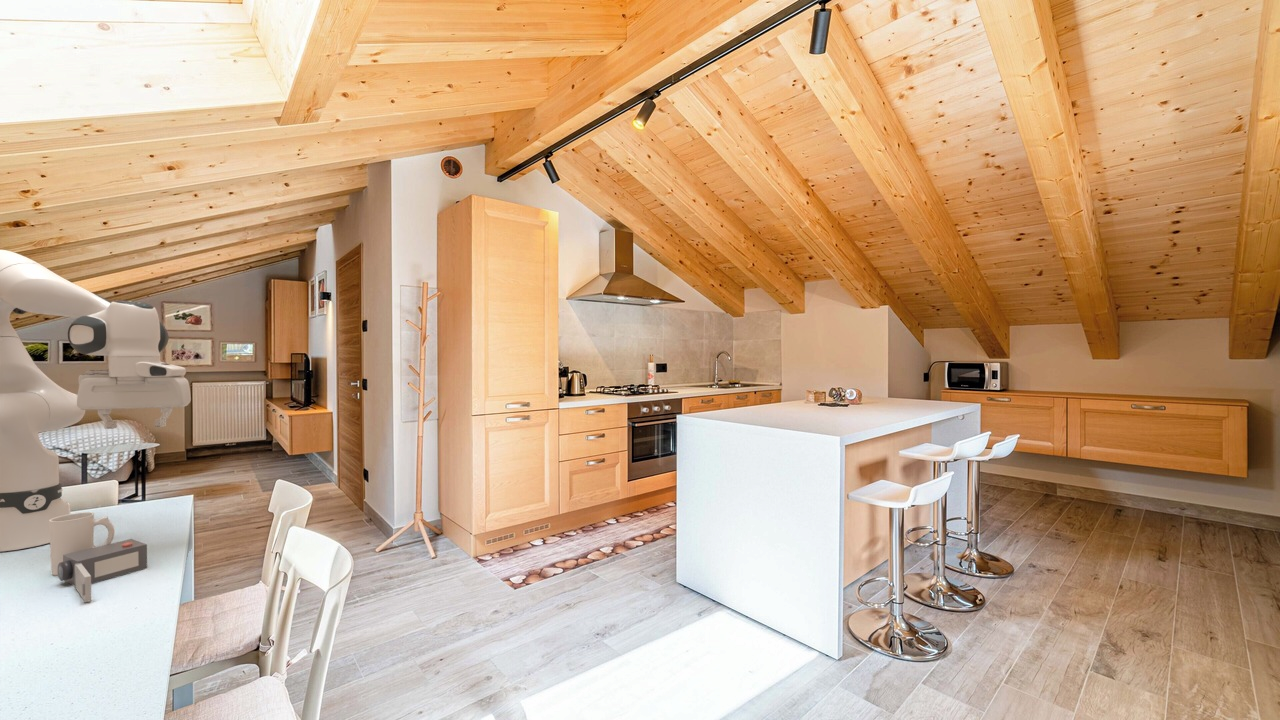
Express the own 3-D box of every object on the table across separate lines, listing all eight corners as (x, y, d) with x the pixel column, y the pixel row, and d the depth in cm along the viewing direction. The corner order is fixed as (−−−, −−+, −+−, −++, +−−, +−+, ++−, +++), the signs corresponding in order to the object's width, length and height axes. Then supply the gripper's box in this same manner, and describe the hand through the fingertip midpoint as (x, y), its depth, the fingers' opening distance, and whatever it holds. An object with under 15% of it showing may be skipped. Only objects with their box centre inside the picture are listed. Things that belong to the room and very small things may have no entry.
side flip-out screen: (81, 585, 107) (81, 562, 107) (92, 600, 100) (91, 575, 100) (72, 587, 106) (72, 564, 106) (83, 602, 99) (82, 578, 99)
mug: (46, 579, 111) (45, 523, 111) (53, 569, 116) (52, 516, 116) (112, 566, 117) (112, 514, 117) (116, 558, 123) (116, 507, 123)
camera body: (54, 582, 109) (53, 554, 109) (131, 561, 120) (131, 536, 120) (68, 590, 106) (68, 560, 106) (147, 568, 117) (147, 541, 116)
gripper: (68, 370, 116) (69, 431, 116) (180, 369, 122) (180, 427, 122) (88, 369, 122) (89, 428, 122) (193, 368, 128) (194, 423, 128)
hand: (136, 427), depth 122 cm, fingers open, 8 cm apart
